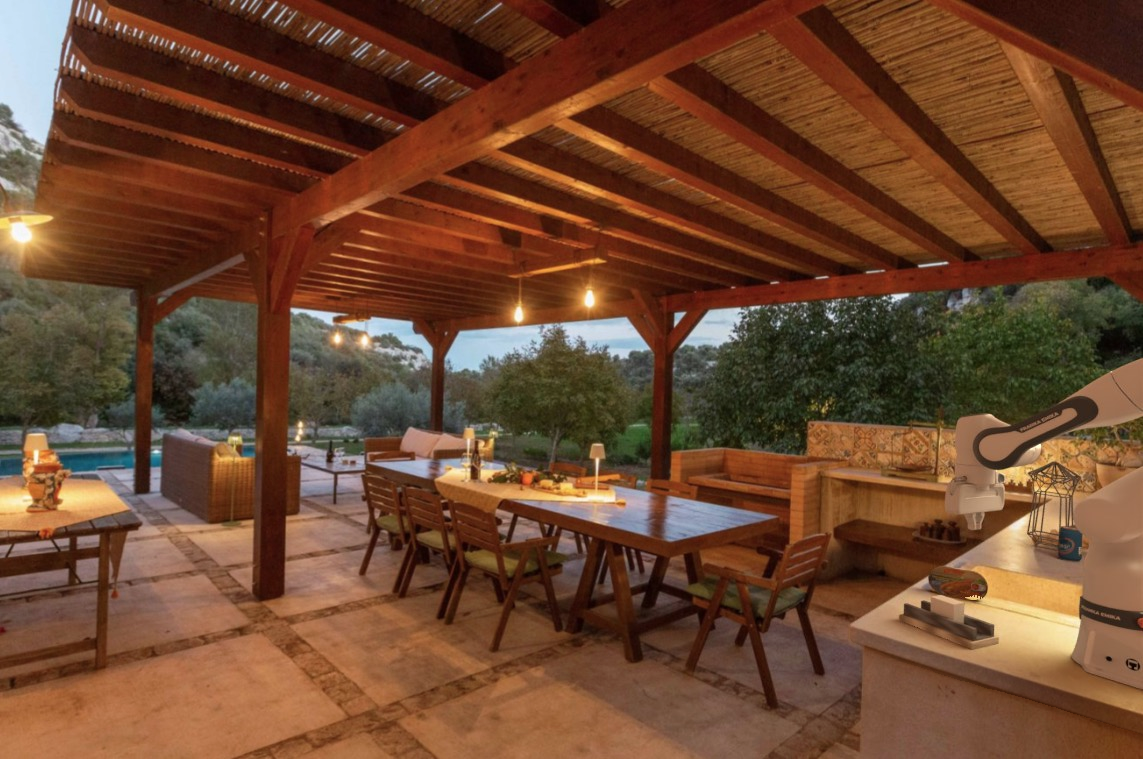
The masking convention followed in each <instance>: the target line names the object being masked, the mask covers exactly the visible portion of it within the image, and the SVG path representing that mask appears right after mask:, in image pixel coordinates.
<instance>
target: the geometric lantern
mask: <svg viewBox="0 0 1143 759" xmlns="http://www.w3.org/2000/svg"><path fill="white" fill-rule="evenodd" d="M1051 468H1052V469H1051ZM1057 468H1058V470H1059V472H1060V473H1061V475H1060V474H1058V472H1057ZM1050 469H1051V473H1048V472H1049V471H1050ZM1039 473H1040V474H1039ZM1027 474H1028V475H1029V477H1030V479H1031V482H1032V493H1033V495H1032V501H1031V507H1030V508H1031V509H1030V514H1029V517H1028V518H1029V519H1028V525H1027V530H1026V531H1027V532H1026V533H1027V534H1026V535H1028V536H1029V537H1030V538H1031V539H1032V540H1033V541H1034V542H1035V543H1034V547H1036V548H1041V549H1046V550H1052V551H1057V552H1058V544H1055V543H1058V540H1059V539H1056V538H1051V537H1049V536H1047V537H1046V536H1042V534H1047V535H1053V536H1056V537H1057V536H1058V537H1059V533H1053V532H1047V531H1043V526H1044V519H1045V518H1044V516H1045V508H1046V498H1047V496H1049V497H1055V498H1059V517H1058V519H1059V522H1058V531H1059V530H1060V529H1061V526H1062V504H1063V501H1062V499H1064V500H1065V510H1064V511H1065V512H1064V513H1065V518H1064V519H1065V526H1068V527H1070V517H1071V527H1074V520H1073V513H1074V497H1073V496H1074V494H1075V490H1076V488H1077V485H1078V484H1079V482H1080V481H1081V479H1082V478H1083V477H1082V476H1081V475H1078V474H1077V473H1076V472H1074V471H1072V470H1070V469H1069V468H1067V467H1066V466H1064V465H1063V464H1061V463H1060V462H1059V461H1050V462H1049V463H1047V464H1045V465H1042V466H1040V467H1037V468H1036V469H1033V470H1030V471H1029V472H1027ZM1049 475H1050V476H1049ZM1038 476H1039V477H1038ZM1040 477H1041V478H1042V479H1041V478H1040ZM1044 478H1046V479H1050V482H1045V479H1044ZM1057 480H1058V481H1057ZM1038 481H1039V482H1040V483H1042V484H1041V486H1040V485H1039V483H1038ZM1070 481H1071V482H1072V486H1070V487H1069V489H1067V486H1066V485H1065V484H1067V483H1069V482H1070ZM1035 482H1036V484H1037V486H1038V489H1037V490H1035ZM1056 484H1063V487H1064V488H1065V490H1066V493H1060V492H1059V490H1058V488H1057V487H1056V486H1055V485H1056ZM1044 485H1049V486H1047V488H1046V489H1045V490H1042V487H1043V486H1044ZM1052 486H1053V488H1054V490H1055V491H1056V492H1052V491H1048V490H1049V489H1050V488H1051V487H1052ZM1071 490H1072V492H1071V494H1070V491H1071ZM1047 493H1049V494H1047ZM1053 494H1055V495H1053ZM1038 495H1039V496H1038ZM1042 496H1043V497H1044V498H1043V505H1042V515H1041V523H1040V530H1036V529H1037V524H1038V516H1039V510H1040V504H1041V497H1042ZM1037 497H1038V498H1037ZM1037 499H1038V501H1037ZM1036 506H1037V507H1036ZM1036 508H1037V509H1036ZM1070 514H1071V515H1070ZM1032 515H1033V516H1032ZM1031 520H1032V521H1031ZM1031 523H1032V526H1031ZM1030 527H1032V529H1031V531H1030ZM1037 533H1039V534H1037ZM1036 537H1037V538H1036ZM1045 541H1049V542H1045ZM1050 542H1052V543H1050ZM1053 542H1054V544H1053ZM1039 545H1044V546H1039ZM1045 545H1046V546H1051V547H1056V548H1051V547H1045Z"/></svg>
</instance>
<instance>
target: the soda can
mask: <svg viewBox="0 0 1143 759" xmlns="http://www.w3.org/2000/svg"><path fill="white" fill-rule="evenodd" d="M1058 534H1059V536H1058V539H1057V540H1058V542H1057V545H1058V551H1057V555H1058V557H1059V559H1060V560H1063V561H1066V562H1072V563H1079V562H1080V561H1081V560H1082V558H1083V534H1082V533H1080V531H1079V530H1078V529H1077V528H1076V526H1073V527H1072V526H1069V527H1068V526H1066V525H1065V526H1062V525H1061V529H1060V530H1059V529H1058Z"/></svg>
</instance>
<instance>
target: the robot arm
mask: <svg viewBox="0 0 1143 759" xmlns="http://www.w3.org/2000/svg"><path fill="white" fill-rule="evenodd" d="M1141 417H1143V357H1142V358H1139V359H1137V360H1134V361H1131V362H1129V363H1126V364H1124V365H1122V366H1119V367H1118V368H1115V369H1114V370H1112V371H1110V372H1108V373H1106V374H1104V375H1101V376H1100V377H1098V378H1097V379H1095V380H1093V381H1091V382H1090V383H1088V384H1087V385H1085V386H1083V387H1081V389H1079V390H1078V391H1076V392H1074V393H1073V394H1072V395H1069V396H1068V397H1067V398H1065V399H1063V400H1061V401H1060V402H1058V403H1057V404H1055V405H1053V406H1051V407H1049V408H1047V409H1044V410H1043V411H1039V412H1038V413H1036V414H1034V415H1032V416H1029V417H1027V418H1025V419H1023V420H1020V421H1019V422H1016V423H1014V424H1009V423H1006V422H1004V421H1002V420H1000V419H998V418H996V417H995V416H994V415H993V414H991V413H985V412H984V413H983V412H982V413H981V412H979V413H972V414H965V415H962V416H961V417H959V418H958V420H957V422H956V427H955V434H954V436H955V437H954V449H955V451H956V457H955V459H954V477H952V478H951V479H950V481H948V482H949V483H948V485H947V486H946V489H945V495H944V509H945V512H946V513H947V514H952V515H953V514H954V515H960V516H961V515H964V518H965V520H966V522H967V529H968V530H970V531H977V530H978V531H979V530H982V523H983V520H984V518H985V512H987V513H988V512H995V511H1002V510H1003V508H1004V506H1005V500H1006V499H1005V498H1006V496H1005V495H1006V492H1005V491H1006V488H1005V485H1004V483H1006V482H1007V476H1006V474H1004V473H1002V472H1000V471H1004V470H1006V469H1010V468H1011V469H1012V468H1016V467H1017V468H1018V467H1024V466H1029V465H1030V464H1033V463H1035V462H1036V461H1037V460H1038V459H1039V458H1040V456H1041V453H1042V447H1043V446H1042V444H1044V443H1046V442H1047V443H1048V442H1049V441H1051V440H1053V439H1055V438H1057V437H1060V436H1063V435H1065V434H1068V433H1071V432H1074V431H1080V430H1085V429H1093V428H1094V429H1095V428H1105V427H1112V426H1116V425H1121V424H1123V423H1127V422H1130V421H1133V420H1136V419H1139V418H1141ZM1073 525H1074V527H1075V528H1077V529H1078V530H1079V531H1080V533H1082V536H1084V537H1086V538H1087V539H1089V544H1088V549H1087V552H1086V555H1085V558H1084V559H1083V563H1082V565H1083V566H1082V568H1083V569H1082V589H1081V590H1082V593H1081V594H1082V595H1081V596H1079V602H1078V603H1079V604H1078V617H1079V620H1080V624H1079V630H1078V634H1077V638H1076V642H1075V645H1074V648H1073V650H1072V653H1071V655H1070V656H1071V658H1072V660H1073V661H1074V662H1076V663H1077V664H1078V665H1080V666H1081V667H1082V669H1083V671H1085V672H1087V673H1088V674H1092V675H1095V676H1098V677H1101V678H1105V679H1108V680H1111V681H1114V682H1116V683H1117V682H1118V683H1121V684H1124V685H1127V686H1129V687H1133V688H1137V689H1140V690H1143V465H1142V466H1140V467H1138V468H1137V469H1135V470H1133V471H1131V472H1129V473H1127V474H1125V475H1123V476H1122V477H1120V478H1118V479H1116V480H1114V481H1112V482H1110V483H1109V484H1107V485H1105V486H1103V487H1101V488H1099V489H1098V490H1096V491H1095V492H1093V493H1091V494H1089V495H1087V496H1085V498H1083V499H1081V501H1079V503H1077V505H1076V507H1075V508H1074V509H1073Z"/></svg>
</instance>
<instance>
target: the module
mask: <svg viewBox="0 0 1143 759" xmlns="http://www.w3.org/2000/svg"><path fill="white" fill-rule="evenodd" d="M930 603H931V612H933V613H935V614H938V615H941V616H944V617H946V618H949V619H952V620H955V621H957V622H960V623H963V624H964V614H965V602H963V601H960V600H957V599H954V598H952V597H949V596H946V595H942V594H939V595H935V596H934V595H933V596H931V597H930Z"/></svg>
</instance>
